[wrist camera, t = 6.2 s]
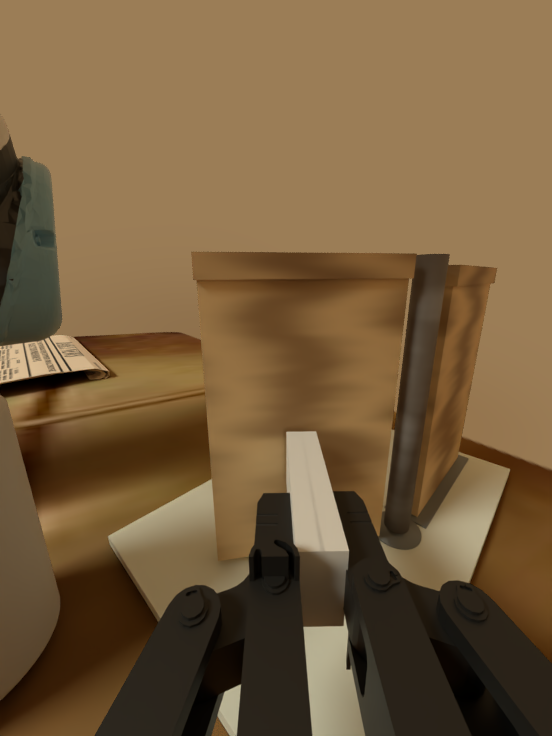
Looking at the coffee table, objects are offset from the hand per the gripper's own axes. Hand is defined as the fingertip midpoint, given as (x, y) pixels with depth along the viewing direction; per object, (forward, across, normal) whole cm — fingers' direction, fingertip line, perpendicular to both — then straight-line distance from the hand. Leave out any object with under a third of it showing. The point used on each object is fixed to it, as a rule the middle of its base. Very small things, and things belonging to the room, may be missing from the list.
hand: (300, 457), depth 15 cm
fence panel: (+1, +1, -6) cm, 6 cm away
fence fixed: (+7, +10, -6) cm, 14 cm away
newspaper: (+42, -45, -7) cm, 62 cm away
